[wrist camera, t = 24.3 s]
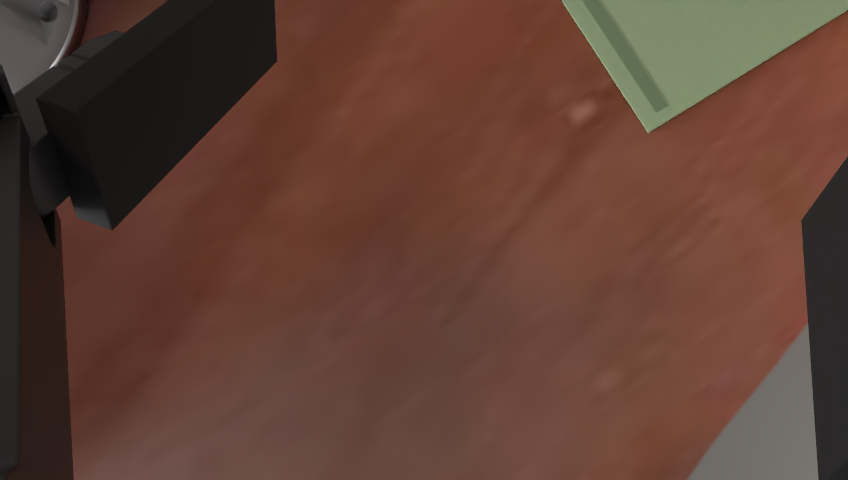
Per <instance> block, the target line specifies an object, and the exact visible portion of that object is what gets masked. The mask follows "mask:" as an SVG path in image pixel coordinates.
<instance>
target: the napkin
mask: <svg viewBox="0 0 848 480" xmlns="http://www.w3.org/2000/svg"><path fill="white" fill-rule="evenodd" d="M561 1H562V2H563V4H564V5H565V7H566V8H567V10H568V11H569V13H570V15H571V16H572V18H573V19H574V21H575V22H576V24H577V25H578V27H579V28H580V30H581V31H582V33H583V34H584V36H585V37H586V39H587V41H588V42H589V44H590V45H591V47H592V48H593V50H594V51H595V53H596V54H597V56H598V57H599V59H600V60H601V62H602V64H603V65H604V67H605V68H606V70H607V71H608V73H609V74H610V76H611V77H612V79H613V80H614V82H615V83H616V85H617V86H618V88H619V90H620V91H621V93H622V94H623V96H624V97H625V99H626V100H627V102H628V103H629V105H630V106H631V108H632V109H633V111H634V113H635V114H636V116H637V117H638V119H639V120H640V122H641V123H642V125H643V126H644V128H645V129H646V131H647V132H648V133H649V132H651V131H653V130H654V129H656V128H657V127H659V126H661V125H662V124H664V123H665V122H667V121H669V120H670V119H672V118H674V117H675V116H677V115H678V114H680V113H682V112H683V111H685V110H687V109H688V108H690V107H691V106H693V105H695V104H696V103H698V102H700V101H701V100H703V99H704V98H706V97H708V96H709V95H711V94H713V93H714V92H716V91H717V90H719V89H721V88H722V87H724V86H726V85H727V84H729V83H730V82H732V81H734V80H735V79H737V78H739V77H740V76H742V75H743V74H745V73H747V72H748V71H750V70H752V69H753V68H755V67H756V66H758V65H760V64H761V63H763V62H765V61H766V60H768V59H769V58H771V57H773V56H774V55H776V54H778V53H779V52H781V51H782V50H784V49H786V48H787V47H789V46H791V45H792V44H794V43H795V42H797V41H799V40H800V39H802V38H804V37H805V36H807V35H808V34H810V33H812V32H813V31H815V30H817V29H818V28H820V27H821V26H823V25H825V24H826V23H828V22H830V21H831V20H833V19H834V18H836V17H838V16H839V15H841V14H843V13H844V12H846V11H847V10H848V0H561Z"/></svg>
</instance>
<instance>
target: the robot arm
mask: <svg viewBox="0 0 848 480" xmlns="http://www.w3.org/2000/svg"><path fill="white" fill-rule="evenodd" d="M86 16H87V0H0V480H74V479H73V459H72V439H71V419H70V399H69V380H68V360H67V340H66V320H65V300H64V280H63V260H62V241H61V221H60V218H59V215H58V213H57V210H56V207H57V206H59V205H60V204H61V203H62V202H63V201H64V200H65V199H66V198H67V197H68V196H69V195H70V198H71V201H72V204H73V207H74V209H75V212H76V215H77V218H79V219H82V220H85V221H87V222H90V223H93V224H96V225H99V226H101V227H104V228H107V229H110V230H113V229H114V228H115V227H116V226H117V225H118V224H119V223H120V222H121V221H122V220H123V219H124V218H125V217H126V216H127V215H128V214H129V213H130V212H131V211H132V210H133V209H134V208H135V207H136V206H137V205H138V204H139V203H140V202H141V200H142V199H143V198H144V197H145V196H146V195H147V194H148V193H149V192H150V191H151V190H152V189H153V188H154V187H155V186H156V185H157V184H158V183H159V182H160V181H161V180H162V179H163V178H164V177H165V176H166V175H167V174H168V173H169V172H170V171H171V170H172V169H173V168H174V167H175V166H176V164H177V163H178V162H179V161H180V160H181V159H182V158H183V157H184V156H185V155H186V154H187V153H188V152H189V151H190V150H191V149H192V148H193V147H194V146H195V145H196V144H197V143H198V142H199V141H200V140H201V139H202V138H203V137H204V136H205V135H206V134H207V133H208V132H209V131H210V130H211V128H212V127H213V126H214V125H215V124H216V123H217V122H218V121H219V120H220V119H221V118H222V117H223V116H224V115H225V114H226V113H227V112H228V111H229V110H230V109H231V108H232V107H233V106H234V105H235V104H236V103H237V102H238V101H239V100H240V99H241V98H242V97H243V96H244V95H245V94H246V92H247V91H248V90H249V89H250V88H251V87H252V86H253V85H254V84H255V83H256V82H257V81H258V80H259V79H260V78H261V77H262V76H263V75H264V74H265V73H266V72H267V71H268V70H269V69H270V68H271V67H272V66H273V65H274V64H275V63H276V62H277V49H276V27H275V4H274V0H169V1H167V2H166V3H164V4H163V5H162V6H160V7H159V8H158V9H156V10H155V11H154V12H152V13H151V14H150V15H148V16H147V17H145V18H144V19H143V20H141V21H140V22H139V23H137V24H136V25H135V26H133V27H132V28H131V29H129V30H128V31H126V32H125V33H121V32H117V31H114V32H111V33H108V34H105V35H102V36H100V37H97V38H94V39H91V40H89V41H88V42H87V43H85V44H84V45H82V46H81V47H79V48H78V46H79V43H80V40H81V38H82V34H83V31H84V27H85V22H86ZM77 48H78V49H77ZM801 221H802V236H803V251H804V266H805V281H806V296H807V311H808V326H809V341H810V356H811V371H812V385H813V401H814V415H815V431H816V446H817V461H818V476H819V480H848V157H847V158H846V160H845V161H844V162H843V164H842V165H841V167H840V168H839V169H838V171H837V172H836V173H835V175H834V176H833V178H832V179H831V180H830V182H829V183H828V185H827V186H826V187H825V189H824V190H823V191H822V193H821V194H820V196H819V197H818V198H817V200H816V201H815V202H814V204H813V205H812V207H811V208H810V209H809V211H808V212H807V214H806V215H805V216H804V218H803V219H802V220H801Z"/></svg>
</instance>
